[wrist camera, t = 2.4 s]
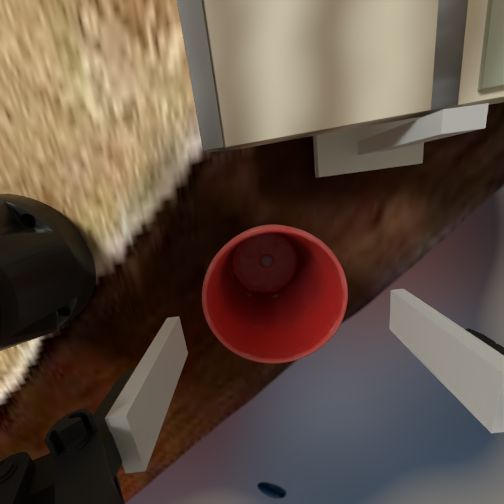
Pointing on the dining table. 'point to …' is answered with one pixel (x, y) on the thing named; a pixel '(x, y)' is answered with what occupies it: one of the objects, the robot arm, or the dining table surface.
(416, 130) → the stand
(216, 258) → the flower pot
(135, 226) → the dining table surface
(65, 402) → the dining table surface
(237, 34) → the beam
